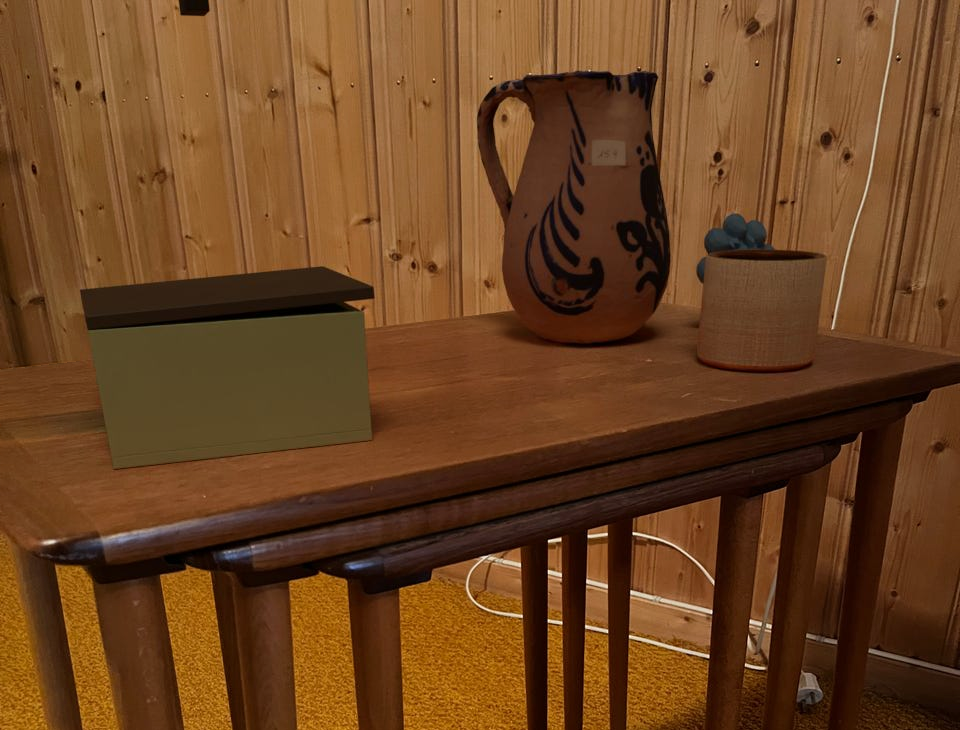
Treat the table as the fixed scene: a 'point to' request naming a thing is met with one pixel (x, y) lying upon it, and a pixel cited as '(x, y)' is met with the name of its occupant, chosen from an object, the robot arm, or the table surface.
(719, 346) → the planter
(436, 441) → the table surface
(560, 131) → the ceramic pitcher
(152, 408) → the olive green storage bin
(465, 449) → the table surface
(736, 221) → the grapes
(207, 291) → the storage bin lid
